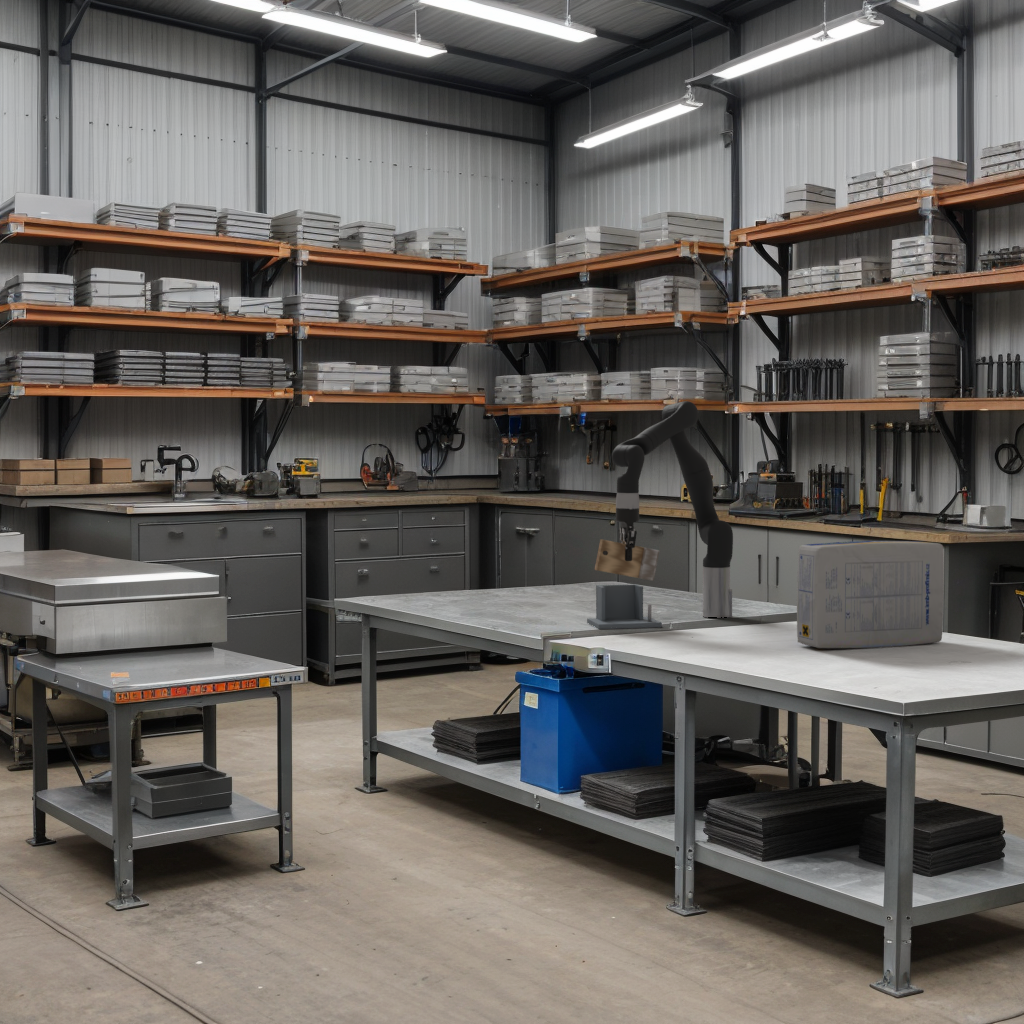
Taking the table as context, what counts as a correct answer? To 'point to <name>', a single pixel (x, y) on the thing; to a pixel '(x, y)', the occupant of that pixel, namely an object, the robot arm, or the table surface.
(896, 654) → the table surface
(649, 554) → the door
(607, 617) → the grey corner bracket
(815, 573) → the construction material bag
